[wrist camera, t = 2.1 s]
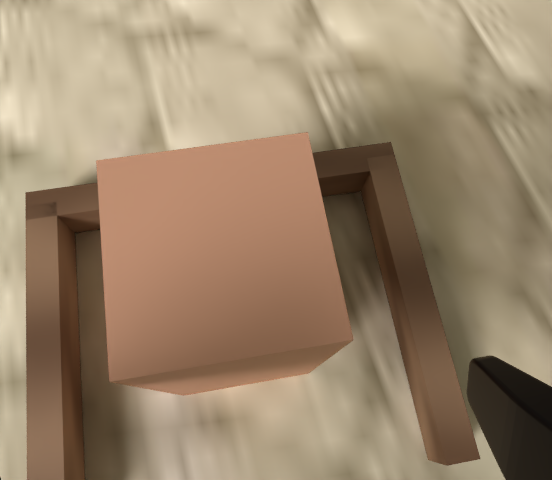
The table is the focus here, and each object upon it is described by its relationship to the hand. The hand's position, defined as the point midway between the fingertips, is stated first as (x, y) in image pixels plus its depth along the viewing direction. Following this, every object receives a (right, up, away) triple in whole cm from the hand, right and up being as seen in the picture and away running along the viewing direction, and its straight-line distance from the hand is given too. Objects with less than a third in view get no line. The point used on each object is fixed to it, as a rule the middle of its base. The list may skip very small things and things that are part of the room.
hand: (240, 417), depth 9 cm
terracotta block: (-1, 0, +11) cm, 11 cm away
